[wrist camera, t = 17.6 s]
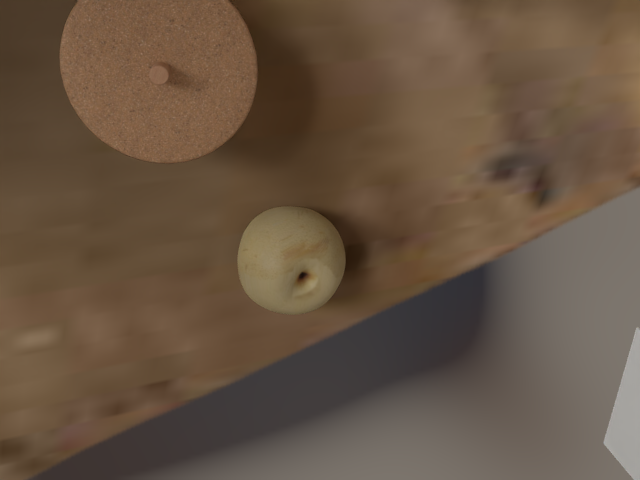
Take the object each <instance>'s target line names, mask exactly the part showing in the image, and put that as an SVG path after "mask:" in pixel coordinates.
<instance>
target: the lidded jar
mask: <svg viewBox="0 0 640 480" xmlns="http://www.w3.org/2000/svg"><path fill="white" fill-rule="evenodd" d="M59 58H60V71H61V76H62V80H63V84H64V88H65V90H66V93H67V95H68V98H69V100H70V103H71V104H72V106H73V108H74V109H75V111H76V113H77V115H78V116H79V117H80V119H81V120H82V121H83V122H84V124H85V125H86V126H87V127H88V129H89V130H90V131H92V132H93V133H94V134H95V135H96V136H97V137H98V138H99V139H100V140H102V141H103V142H104V143H106V144H107V145H109V146H110V147H112V148H113V149H115V150H117V151H119V152H121V153H123V154H125V155H127V156H130V157H133V158H136V159H139V160H142V161H148V162H153V163H179V162H186V161H190V160H194V159H197V158H200V157H202V156H205V155H207V154H209V153H211V152H213V151H214V150H216V149H217V148H219V147H221V146H222V145H223V144H225V143H226V142H227V141H228V140H229V139H230V138H231V137H232V136H233V135H234V134H235V133H236V132H237V131H238V129H239V128H240V127H241V126H242V124H243V122H244V121H245V119H246V117H247V115H248V114H249V112H250V109H251V106H252V104H253V101H254V98H255V93H256V89H257V82H258V64H257V54H256V50H255V46H254V43H253V39H252V36H251V34H250V32H249V30H248V27H247V25H246V23H245V21H244V20H243V18H242V16H241V15H240V13H239V12H238V10H237V9H236V8H235V6H234V5H233V4H232V3H231V2H230V0H78V1H77V3H76V4H75V6H74V7H73V8H72V10H71V12H70V14H69V16H68V19H67V21H66V23H65V26H64V29H63V33H62V37H61V43H60V54H59Z"/></svg>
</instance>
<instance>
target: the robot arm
mask: <svg viewBox="0 0 640 480" xmlns="http://www.w3.org/2000/svg"><path fill="white" fill-rule="evenodd" d="M603 443H604V445H605V446H606V447H607V448H608V450H609V451H610V452H611V453H612V454H613V455H614V457H615V458H616V459H617V460H618V461H619V462H620V464H621V465H622V466H623V467H624V469H625V470H626V471H627V472H628V473H629V474H630V476H631V477H632V478H633V479H634V480H640V327H637V328H636V331H635V335H634V338H633V342H632V345H631V349H630V352H629V356H628V359H627V363H626V366H625V369H624V373H623V377H622V380H621V384H620V387H619V390H618V394H617V397H616V401H615V404H614V408H613V411H612V415H611V418H610V422H609V425H608V429H607V432H606V436H605V439H604V442H603Z"/></svg>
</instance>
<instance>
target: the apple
mask: <svg viewBox="0 0 640 480" xmlns="http://www.w3.org/2000/svg"><path fill="white" fill-rule="evenodd" d="M345 263H346V258H345V249H344V245H343V242H342V239H341V237H340V235H339V233H338V231H337V230H336V228H335V227H334V226H333V224H332V223H331V222H330V221H329V220H328V219H326V218H325V217H324V216H322V215H321V214H319V213H318V212H315V211H313V210H311V209H308V208H303V207H296V206H283V207H275V208H272V209H268V210H266V211H264V212H262V213H261V214H259V215H258V216H256V217H255V218H254V219H253V220H252V221H251V222H250V223H249V225H248V226H247V228H246V229H245V231H244V234H243V236H242V238H241V242H240V245H239V250H238V272H239V278H240V281H241V284H242V287H243V289H244V291H245V292H246V293H247V295H248V296H249V297H250V298H251V299H252V300H253V301H254V302H255V303H257V304H258V305H260V306H261V307H263V308H266V309H268V310H271V311H273V312H277V313H281V314H291V315H293V314H294V315H295V314H304V313H308V312H311V311H313V310H316V309H318V308H319V307H321V306H322V305H324V304H325V303H326V302H327V301H328V300H329V299H330V298H331V297H332V296H333V294H334V293H335V292H336V290H337V288H338V286H339V284H340V282H341V280H342V277H343V274H344V270H345Z"/></svg>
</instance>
